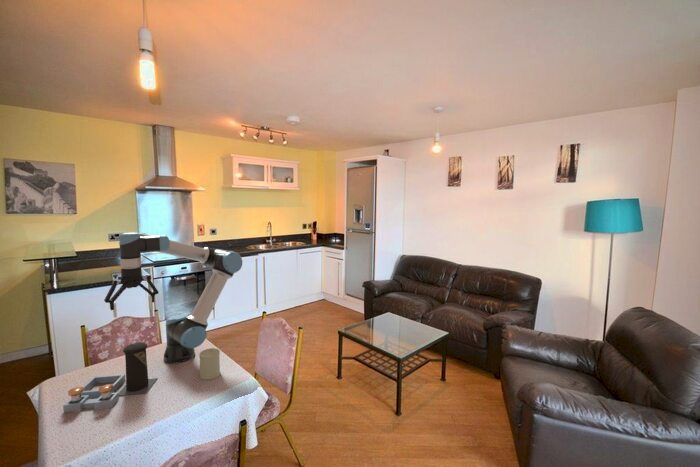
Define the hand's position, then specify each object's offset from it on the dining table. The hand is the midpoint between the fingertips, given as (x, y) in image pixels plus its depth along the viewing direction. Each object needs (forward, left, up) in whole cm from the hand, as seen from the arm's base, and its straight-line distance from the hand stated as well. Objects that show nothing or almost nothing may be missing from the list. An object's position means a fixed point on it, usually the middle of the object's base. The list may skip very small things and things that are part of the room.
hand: (133, 313), depth 143 cm
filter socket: (+14, +1, -35) cm, 37 cm away
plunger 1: (+17, +13, -34) cm, 40 cm away
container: (-1, +2, -34) cm, 35 cm away
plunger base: (+11, +13, -35) cm, 39 cm away
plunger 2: (+6, +13, -34) cm, 37 cm away
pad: (-1, +2, -35) cm, 35 cm away
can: (-31, -4, -35) cm, 47 cm away
